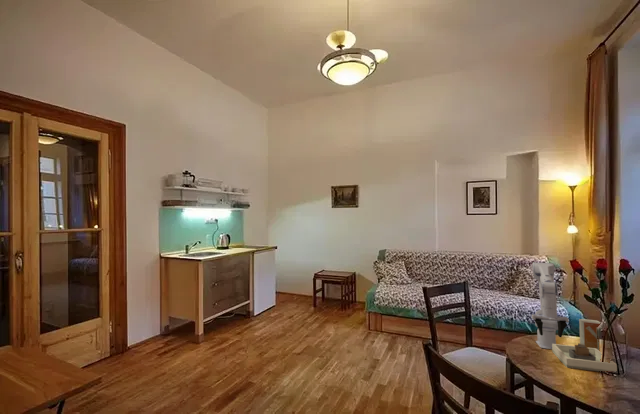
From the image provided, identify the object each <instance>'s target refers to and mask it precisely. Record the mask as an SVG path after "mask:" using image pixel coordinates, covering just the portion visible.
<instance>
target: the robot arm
mask: <svg viewBox="0 0 640 414" xmlns="http://www.w3.org/2000/svg"><path fill="white" fill-rule="evenodd" d="M531 267H532V268H531V269H532V276H533V278H534V279H535V280H537V283H538V286H539V288H538V289H539V290H538V291H539V302H540V303H539V304H540V309H538V310H536V312H535V314H531V319H532V320H533V321H534V323H535V327H537V330H536V332H537V334H536V335H537V340H535V343H536V344H537V345H538V346H539V347H540V348H541V349H545V350H546V349H547V350H552V344H557V340H556V339H557V336H558V337H559V338H562V337H563V333H564V331H565V329H566V327H567V326H568V323H569V322H570V319H569V318H568V317H567V316H559V315H558V306H557V304H558V302H557V295H558V292H559V291H558V289H559V288H558V283H557V282H555V279H554V278H555V271H556V270H555V268H556V267H555V263H553V262H550V263H549V262H535V261H533V262H532V266H531ZM556 332H557V334H556ZM556 335H557V336H556Z"/></svg>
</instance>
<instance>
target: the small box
mask: <svg viewBox="0 0 640 414" xmlns="http://www.w3.org/2000/svg"><path fill="white" fill-rule="evenodd" d="M578 321H579V323H578V324H579V325H578V326H579V343H580V344H584V345H585V346H586V347H588V348H596V349H598V345H597V329H596V327H598V326H599V325H600V323H602V322H601V321H599V320H597V319H596V320H595V319H585V318H584V319H583V318H579V319H578Z"/></svg>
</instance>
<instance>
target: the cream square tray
mask: <svg viewBox="0 0 640 414" xmlns="http://www.w3.org/2000/svg"><path fill="white" fill-rule="evenodd" d="M587 348H588V349H589V356H582V355H576V354H575V345H568V344H559V343H556V344H552V349H551V351H552V353H553V354H554V355H555V356H556V357H557V358H558V359H559V361H560V362H561V363H562V364H563V365H564V366H565V367H566V368H567V369H568V368H569V369H576V370H584V371H592V372H599V371H600V372H601V371H617V372H618V365H617V363H616V362H614V361H613V360H612V361H610V363H608V362H600V359H601V355H602V354H601V352H600V351H599V350H598V349H597V348H589V347H587ZM600 372H599V373H600ZM601 373H602V372H601Z"/></svg>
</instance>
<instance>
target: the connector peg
mask: <svg viewBox="0 0 640 414" xmlns="http://www.w3.org/2000/svg"><path fill="white" fill-rule="evenodd" d="M574 346H575V354H576V355H582V356H589V349H588V348H589V347H588V348H587V347H586V346H585V345H584V344H581V343H580V342H579V343H578V344H574Z"/></svg>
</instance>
